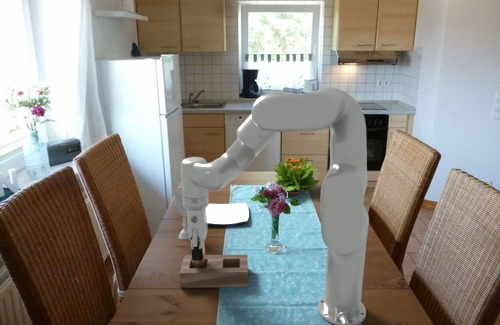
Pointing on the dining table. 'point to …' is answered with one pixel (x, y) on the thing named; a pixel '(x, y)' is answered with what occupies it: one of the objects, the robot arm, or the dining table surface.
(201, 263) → the pin
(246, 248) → the dining table surface
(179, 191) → the chalice
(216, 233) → the dining table surface
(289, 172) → the potted flower
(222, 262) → the hole block
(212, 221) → the plate
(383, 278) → the dining table surface
